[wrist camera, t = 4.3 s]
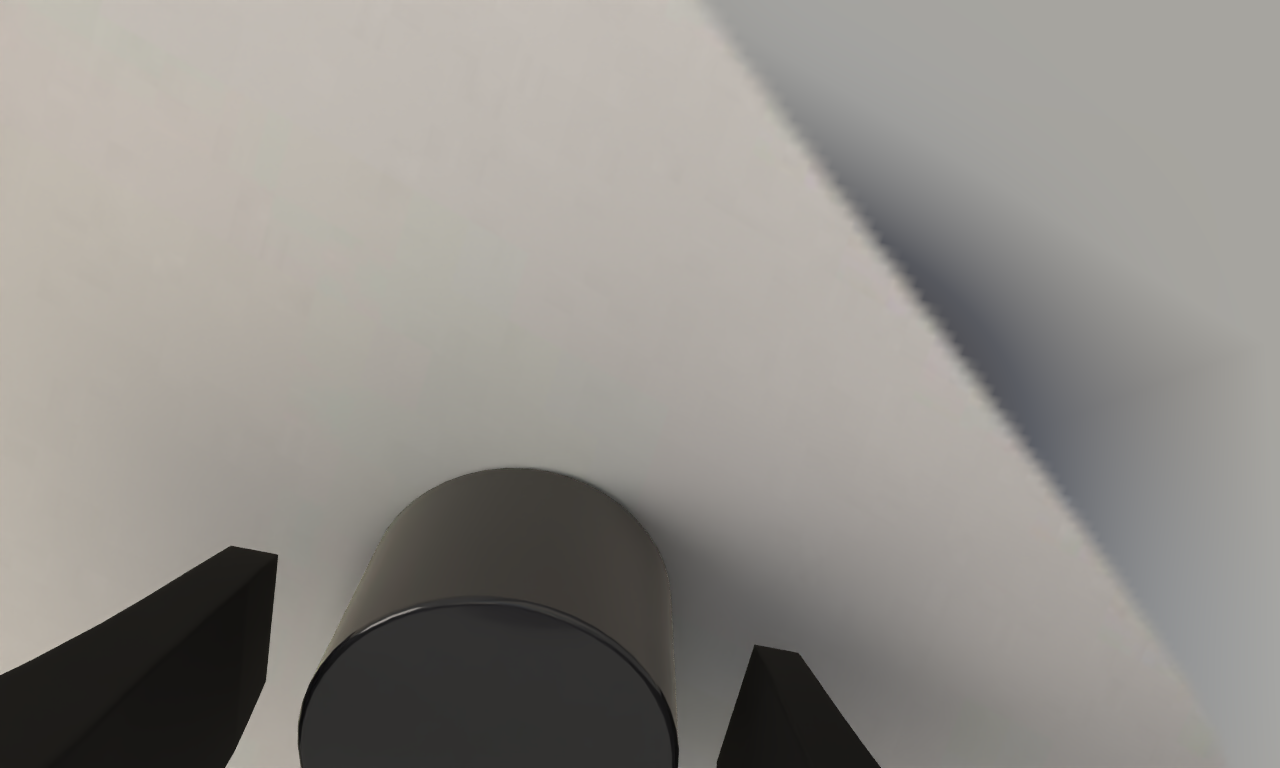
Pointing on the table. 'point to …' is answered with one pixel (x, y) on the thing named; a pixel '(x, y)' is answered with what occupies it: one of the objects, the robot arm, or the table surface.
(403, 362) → the table surface
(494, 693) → the dark grey cylinder
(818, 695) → the robot arm
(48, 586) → the table surface
